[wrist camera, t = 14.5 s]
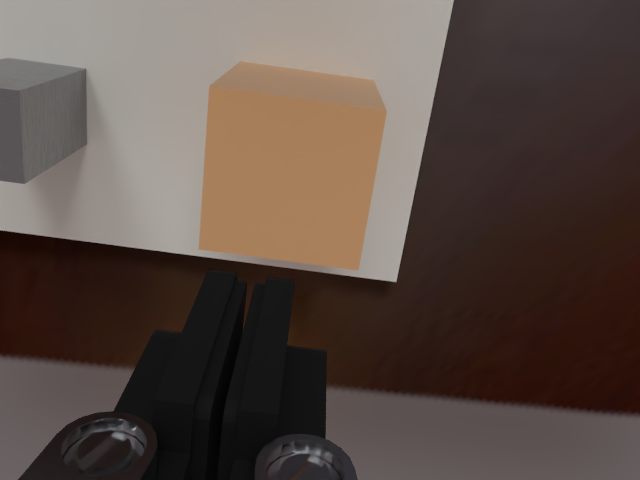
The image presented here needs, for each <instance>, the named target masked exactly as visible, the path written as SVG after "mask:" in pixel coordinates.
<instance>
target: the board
mask: <svg viewBox="0 0 640 480" xmlns="http://www.w3.org/2000/svg"><path fill="white" fill-rule="evenodd" d="M453 2H454V0H0V59H5V58H14V59H21V60H28V61H35V62H42V63H49V64H56V65H64V66H71V67H78V68H85V69H86V92H87V145H85V146H84V147H82V148H80V149H79V150H77V151H76V152H74V153H73V154H71V155H69V156H68V157H66V158H65V159H63V160H62V161H60V162H58V163H57V164H55V165H54V166H52V167H51V168H49V169H48V170H46V171H44V172H43V173H41V174H40V175H38V176H37V177H35V178H33V179H32V180H30V181H29V182H27V183H26V184H20V183H13V182H5V181H0V230H2V231H10V232H18V233H25V234H33V235H40V236H48V237H56V238H63V239H71V240H79V241H86V242H94V243H101V244H109V245H117V246H124V247H132V248H140V249H147V250H155V251H162V252H170V253H178V254H185V255H193V256H201V257H208V258H216V259H224V260H231V261H239V262H246V263H254V264H262V265H269V266H277V267H285V268H292V269H300V270H307V271H315V272H323V273H330V274H338V275H346V276H353V277H361V278H368V279H376V280H384V281H391V282H396V281H397V276H398V271H399V266H400V261H401V256H402V251H403V246H404V242H405V237H406V232H407V227H408V222H409V217H410V212H411V207H412V202H413V198H414V193H415V188H416V183H417V178H418V173H419V168H420V163H421V158H422V153H423V149H424V144H425V139H426V134H427V129H428V124H429V119H430V114H431V109H432V105H433V100H434V95H435V90H436V85H437V80H438V75H439V70H440V65H441V61H442V56H443V51H444V46H445V41H446V36H447V31H448V26H449V21H450V17H451V12H452V7H453ZM240 61H243V62H250V63H257V64H264V65H271V66H278V67H285V68H292V69H299V70H306V71H313V72H320V73H327V74H334V75H341V76H348V77H355V78H362V79H369V80H374V82H375V84H376V87H377V89H378V91H379V94H380V96H381V98H382V101H383V103H384V105H385V108H386V110H387V113H386V119H385V125H384V130H383V136H382V141H381V147H380V153H379V158H378V164H377V170H376V175H375V181H374V186H373V192H372V198H371V203H370V209H369V215H368V220H367V226H366V231H365V237H364V243H363V248H362V254H361V260H360V265H359V270H351V269H344V268H336V267H328V266H321V265H313V264H306V263H298V262H291V261H283V260H276V259H268V258H261V257H253V256H246V255H238V254H230V253H223V252H215V251H208V250H200V249H199V237H200V222H201V206H202V191H203V175H204V160H205V144H206V129H207V114H208V98H209V86H210V85H211V84H212V83H214V82H215V81H216V80H217V79H219V78H220V77H221V76H222V75H224V74H225V73H226V72H227V71H229V70H230V69H231V68H232V67H234V66H235V65H236V64H237V63H239V62H240Z"/></svg>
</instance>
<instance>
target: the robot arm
mask: <svg viewBox="0 0 640 480" xmlns="http://www.w3.org/2000/svg"><path fill="white" fill-rule="evenodd" d="M294 283H295V280H288V279H280V278H272V277H267V281H266V284H262V283H255V286H254V290H253V294H252V298H251V302H250V306H249V310H248V314H247V318H246V322H245V326H244V330H243V322H244V312H245V301H246V291H247V282H246V281H238V280H237V273H233V272H225V271H218V270H210V269H209V270H208V272H207V274H206V277H205V279H204V281H203V284H202V286H201V288H200V291H199V293H198V295H197V298H196V300H195V303H194V305H193V307H192V310H191V312H190V314H189V317H188V319H187V321H186V324H185V326H184V329H183V331H182V332H174V331H166V330H158V329H157V330H155V331H154V333H153V334H152V336H151V338H150V340H149V342H148V344H147V346H146V348H145V350H144V352H143V354H142V356H141V358H140V360H139V362H138V364H137V366H136V368H135V370H134V372H133V374H132V376H131V378H130V380H129V382H128V384H127V386H126V388H125V390H124V392H123V393H122V396H121V397H120V399H119V402H118V404H117V406H116V407H115V410H114V411H112V412H101V413H95V414H91V415H88V416H84V417H81V418H79V419H77V420H75V421H73V422H72V423H70V424H68V425H66V426H65V427H64V428H63V429H62V430H61V431H60V432H59V433H57V434H56V436H55V437H54V438H53V439H52V440H51V442H50V443H49V444H48V445H47V446H46V447H45V449H44V450H43V451H42V452H41V453H40V455H39V456H38V457H37V458H36V459H35V460H34V462H33V463H32V464H31V465H30V466H29V468H28V469H27V470H26V471H25V472H24V474H23V475H22V476H21V477H20V478H19V479H18V480H357V476H356V471H355V468H354V466H353V464H352V461H351V459H350V457H349V456H348V455H347V454H346V453H345V452H344V451H343V450H342V449H341V448H340V447H338V446H337V445H335V444H334V443H332V442H331V441H329V440H326V439H325V432H326V431H325V430H326V364H327V353H326V350H319V349H311V348H303V347H295V346H287V340H288V332H289V324H290V316H291V308H292V300H293V291H294ZM242 332H243V334H242Z"/></svg>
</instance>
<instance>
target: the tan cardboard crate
mask: <svg viewBox="0 0 640 480" xmlns="http://www.w3.org/2000/svg"><path fill="white" fill-rule="evenodd" d="M386 113H387V110H386V108H385V105H384V103H383V101H382V98H381V96H380V94H379V91H378V89H377V87H376V84H375V82H374V80H369V79H362V78H355V77H348V76H341V75H334V74H327V73H320V72H313V71H306V70H299V69H292V68H285V67H278V66H271V65H264V64H257V63H250V62H243V61H240V62H239V63H237V64H236V65H235V66H234V67H232V68H231V69H230V70H229V71H227V72H226V73H225V74H224V75H222V76H221V77H220V78H219V79H217V80H216V81H215V82H214V83H212V84H211V85H210V86H209V98H208V114H207V129H206V144H205V160H204V175H203V191H202V206H201V222H200V237H199V249H200V250H208V251H215V252H223V253H230V254H238V255H246V256H253V257H261V258H268V259H276V260H283V261H291V262H298V263H306V264H313V265H321V266H328V267H336V268H344V269H351V270H359V265H360V260H361V254H362V248H363V243H364V237H365V231H366V226H367V220H368V215H369V209H370V203H371V198H372V192H373V186H374V181H375V175H376V170H377V164H378V158H379V153H380V147H381V141H382V136H383V130H384V125H385V119H386Z"/></svg>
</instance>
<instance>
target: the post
mask: <svg viewBox="0 0 640 480" xmlns="http://www.w3.org/2000/svg"><path fill="white" fill-rule="evenodd" d="M85 145H87V92H86V69H85V68H78V67H71V66H64V65H56V64H49V63H42V62H35V61H28V60H21V59H14V58H5V59H0V181H5V182H13V183H20V184H26V183H27V182H29V181H30V180H32V179H33V178H35V177H37V176H38V175H40V174H41V173H43V172H44V171H46V170H48V169H49V168H51V167H52V166H54V165H55V164H57V163H58V162H60V161H62V160H63V159H65V158H66V157H68V156H69V155H71V154H73V153H74V152H76V151H77V150H79V149H80V148H82V147H84V146H85Z"/></svg>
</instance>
